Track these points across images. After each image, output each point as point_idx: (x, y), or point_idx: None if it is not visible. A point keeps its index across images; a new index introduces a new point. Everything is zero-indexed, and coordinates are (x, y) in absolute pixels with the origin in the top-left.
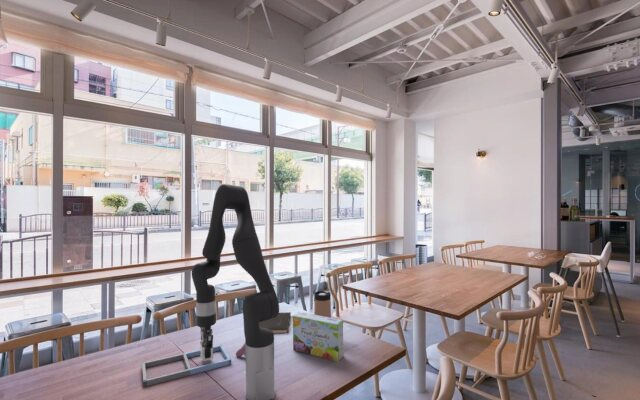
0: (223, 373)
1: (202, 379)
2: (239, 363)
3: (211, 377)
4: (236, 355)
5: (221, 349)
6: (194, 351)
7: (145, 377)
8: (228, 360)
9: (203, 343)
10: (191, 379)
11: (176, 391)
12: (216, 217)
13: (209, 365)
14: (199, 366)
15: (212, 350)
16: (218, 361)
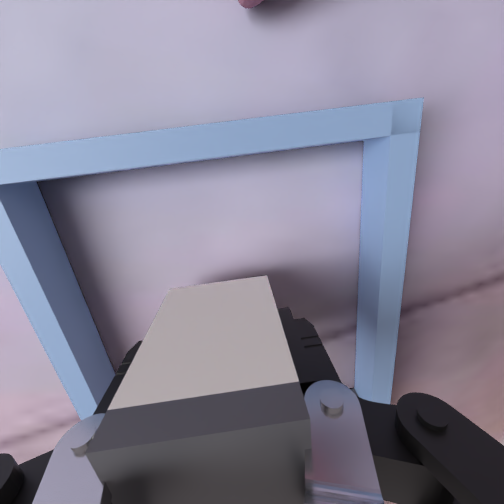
0: (494, 202)
1: (468, 333)
2: (425, 12)
3: (485, 285)
4: (259, 2)
5: (81, 174)
6: (90, 411)
7: None
8: (417, 134)
9: None
10: (425, 383)
11: (488, 432)
12: None
13: (397, 310)
14: (376, 375)
15: (281, 325)
16: (383, 238)
